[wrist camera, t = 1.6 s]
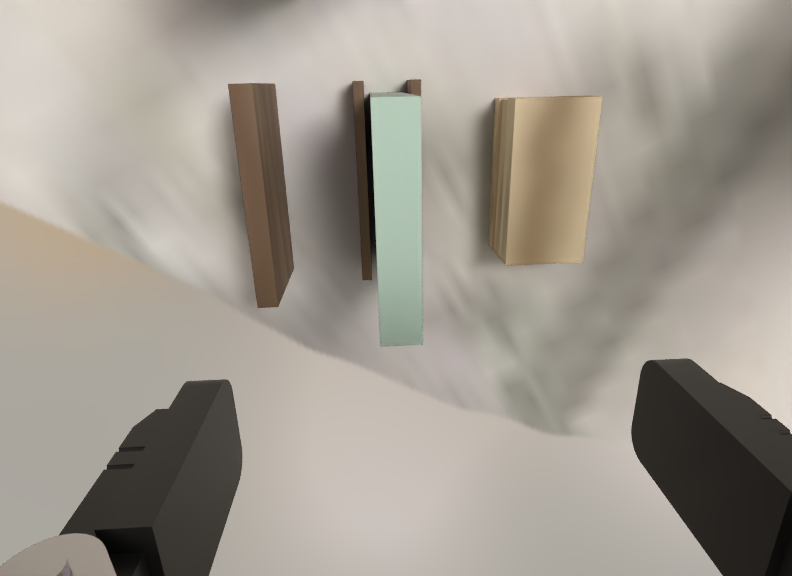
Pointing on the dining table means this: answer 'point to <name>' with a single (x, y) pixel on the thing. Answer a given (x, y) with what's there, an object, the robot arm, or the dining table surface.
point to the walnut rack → (283, 184)
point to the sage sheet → (398, 215)
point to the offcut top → (548, 178)
